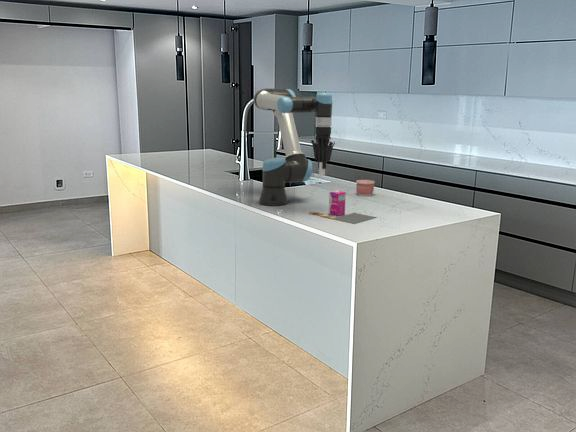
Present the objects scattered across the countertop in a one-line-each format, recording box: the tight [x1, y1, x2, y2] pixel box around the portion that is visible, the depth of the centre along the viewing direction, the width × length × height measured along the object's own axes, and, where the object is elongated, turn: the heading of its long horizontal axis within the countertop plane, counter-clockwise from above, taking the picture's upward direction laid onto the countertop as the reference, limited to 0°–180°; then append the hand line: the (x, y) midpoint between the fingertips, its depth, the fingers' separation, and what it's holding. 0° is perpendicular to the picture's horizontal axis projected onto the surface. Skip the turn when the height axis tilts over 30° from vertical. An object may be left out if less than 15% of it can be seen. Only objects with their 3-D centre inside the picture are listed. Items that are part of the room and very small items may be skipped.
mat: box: [332, 212, 378, 225], centre depth 261 cm, size 13×18×1 cm
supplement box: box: [328, 190, 347, 217], centre depth 266 cm, size 6×6×12 cm
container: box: [355, 179, 376, 197], centre depth 318 cm, size 10×10×8 cm
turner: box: [308, 210, 337, 220], centre depth 264 cm, size 16×3×1 cm, turn 48°
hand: (321, 175), depth 270 cm, fingers closed
